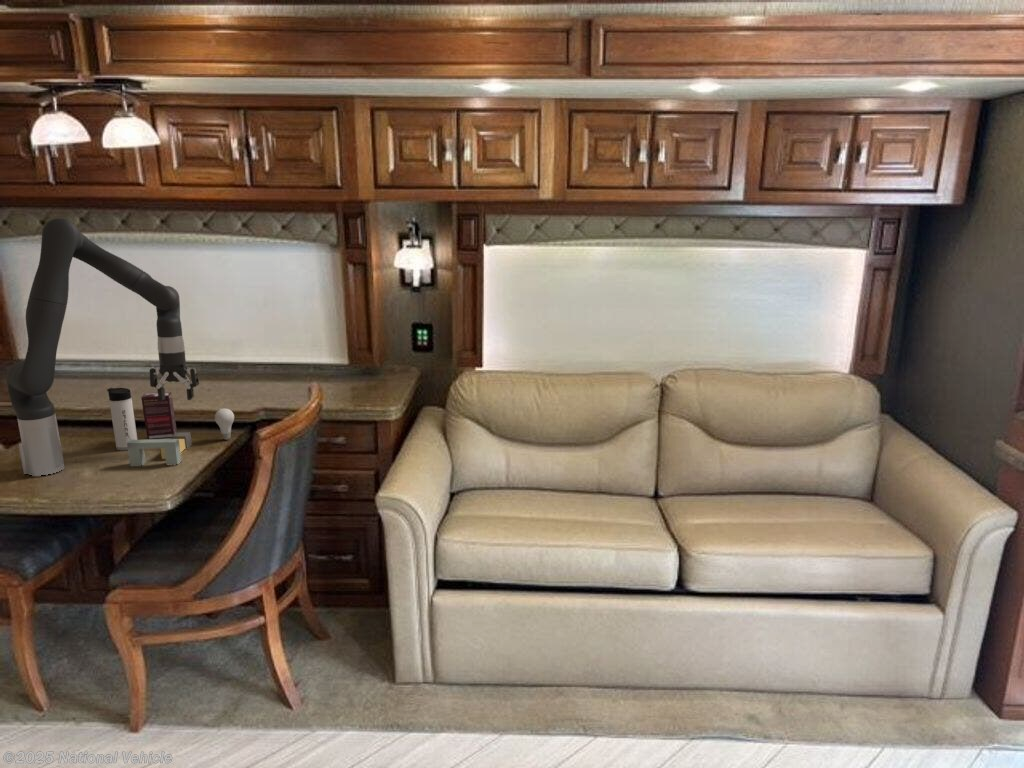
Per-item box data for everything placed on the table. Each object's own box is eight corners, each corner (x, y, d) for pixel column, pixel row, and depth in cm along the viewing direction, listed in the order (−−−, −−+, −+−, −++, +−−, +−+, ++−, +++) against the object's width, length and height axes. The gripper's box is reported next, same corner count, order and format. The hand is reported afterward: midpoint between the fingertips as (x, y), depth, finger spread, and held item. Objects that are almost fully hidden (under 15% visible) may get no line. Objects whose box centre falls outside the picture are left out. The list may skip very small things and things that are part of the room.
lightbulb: (233, 442, 228) (230, 411, 225) (214, 442, 227) (211, 411, 224) (238, 436, 234) (235, 406, 231) (220, 437, 233) (217, 406, 230)
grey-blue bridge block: (130, 466, 206) (126, 443, 204) (134, 462, 209) (131, 439, 207) (177, 465, 207) (174, 442, 205) (181, 461, 210) (178, 438, 208)
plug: (160, 459, 212) (158, 445, 211) (178, 444, 226) (177, 431, 224) (175, 459, 212) (174, 445, 211) (193, 444, 226) (191, 431, 225)
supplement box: (177, 435, 234) (172, 391, 230) (174, 440, 230) (169, 395, 226) (150, 437, 232) (144, 393, 228) (146, 442, 227) (140, 396, 223)
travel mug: (122, 444, 225) (113, 386, 220) (142, 444, 226) (133, 386, 221) (111, 450, 219) (102, 391, 214) (132, 450, 219) (123, 391, 214)
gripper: (199, 348, 219) (203, 396, 222) (153, 347, 218) (158, 396, 221) (189, 352, 211) (194, 402, 215) (142, 352, 210) (148, 402, 214)
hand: (176, 399), depth 218 cm, fingers open, 8 cm apart
